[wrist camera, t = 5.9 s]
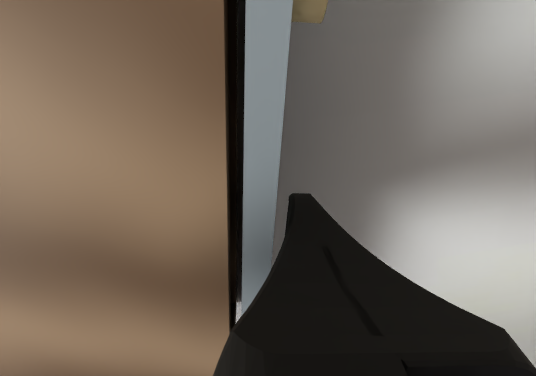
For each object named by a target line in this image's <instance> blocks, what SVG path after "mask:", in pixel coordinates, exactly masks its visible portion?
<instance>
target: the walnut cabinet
mask: <svg viewBox="0 0 536 376" xmlns="http://www.w3.org/2000/svg"><path fill="white" fill-rule="evenodd" d="M236 278H237V0H0V376H213V374H214V371H215V368H216V365H217V363H218V360H219V358H220V355H221V353H222V350H223V348H224V346H225V343H226V341H227V339H228V337H229V334H230V331H231V330H232V328H233V327H234V326H235V322H236Z"/></svg>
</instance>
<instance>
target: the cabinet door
mask: <svg viewBox="0 0 536 376" xmlns="http://www.w3.org/2000/svg"><path fill="white" fill-rule="evenodd" d="M327 2H328V0H246V14H245V90H244V166H243V242H242V315H243V314H244V312H245V311H246V310H247V308H248V307H249V305H250V304H251V303H252V301H253V299H254V298H255V296H256V295H257V293H258V292H259V290H260V288H261V287H262V285H263V284H264V282H265V280H266V278H267V276H268V275H269V273H270V271H271V262H272V250H273V238H274V226H275V214H276V201H277V189H278V177H279V165H280V152H281V140H282V128H283V116H284V104H285V91H286V79H287V67H288V55H289V42H290V30H291V22H305V23H321V22H322V20H323V18H324V15H325V11H326V7H327Z"/></svg>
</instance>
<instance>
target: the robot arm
mask: <svg viewBox="0 0 536 376" xmlns="http://www.w3.org/2000/svg"><path fill="white" fill-rule="evenodd" d="M213 376H536V368H535V367H534V366H533V365H532V363H531V362H530V361H529V360H528V358H527V357H526V356H525V354H524V353H523V352H522V351H521V349H520V348H519V347H518V346H517V344H516V343H515V342H514V340H513V339H512V338H511V337H510V335H509V334H508V333H507V332H506V331H505V329H503V328H501V327H499V326H497V325H495V324H493V323H491V322H489V321H486V320H484V319H482V318H480V317H478V316H476V315H474V314H472V313H469V312H467V311H465V310H463V309H461V308H459V307H457V306H455V305H453V304H451V303H449V302H447V301H446V300H444V299H442V298H440V297H438V296H436V295H435V294H433V293H431V292H429V291H427V290H426V289H424V288H422V287H421V286H419V285H417V284H415V283H414V282H412V281H411V280H409V279H407V278H406V277H404V276H403V275H401V274H400V273H398V272H397V271H395V270H394V269H392V268H391V267H389V266H388V265H386V264H385V263H384V262H382V261H381V260H380V259H378V258H377V257H376V256H374V255H373V254H372V253H370V252H369V251H368V250H366V249H365V248H364V247H363V246H362V245H360V244H359V243H358V242H357V241H356V240H355V239H354V238H352V237H351V236H350V235H349V234H348V233H347V232H346V231H345V230H344V229H343V228H342V227H341V226H340V225H339V224H338V223H337V222H336V221H335V220H334V219H333V218H332V217H331V216H330V215H329V214H328V213H327V212H326V211H325V210H324V209H323V207H322V206H321V205H320V204H319V203H318V202H317V201H316V200H315V199H314V198H313V196H312V195H311V194H303V193H292V194H291V195H290V196H289V203H288V212H287V221H286V230H285V238H284V241H283V244H282V246H281V249H280V251H279V254H278V256H277V258H276V261H275V263H274V265H273V267H272V269H271V271H270V273H269V275H268V276H267V278H266V280H265V282H264V284H263V285H262V287H261V288H260V290H259V292H258V293H257V295H256V296H255V298H254V299H253V301H252V303H251V304H250V305H249V307H248V308H247V310H246V311H245V312H244V314H243V315H242V316H241V318H240V319H239V320H238V322H237V323H236V324H235V326H234V327H233V328H232V330H231V331H230V334H229V337H228V339H227V341H226V343H225V346H224V348H223V350H222V353H221V355H220V358H219V360H218V363H217V365H216V368H215V371H214V374H213Z"/></svg>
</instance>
